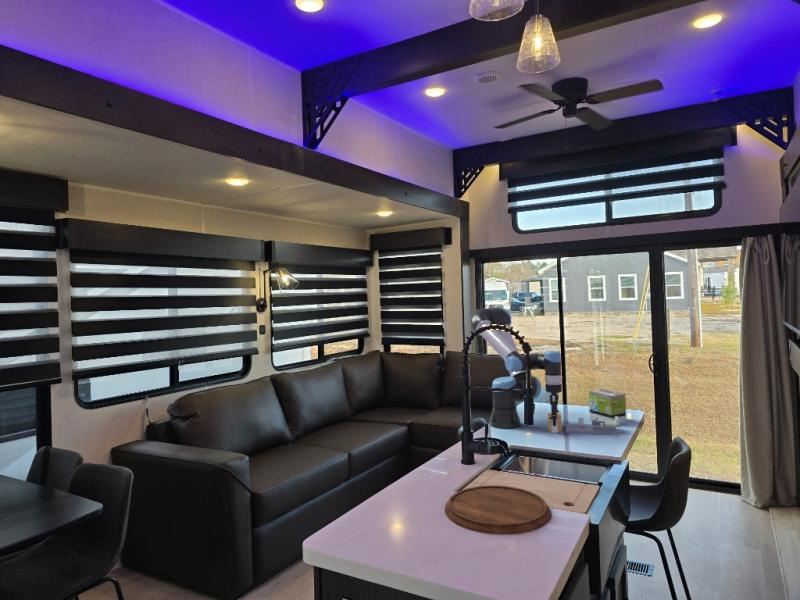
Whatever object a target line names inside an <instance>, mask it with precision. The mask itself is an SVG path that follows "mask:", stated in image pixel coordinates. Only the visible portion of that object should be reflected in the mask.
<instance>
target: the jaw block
mask: <svg viewBox="0 0 800 600" xmlns="http://www.w3.org/2000/svg"><path fill="white" fill-rule="evenodd" d="M553 416H555V415H553ZM550 417H551V413H547V431H548V432H552V424H551V419H550ZM557 422H558V432H560V431H561V432H562V430H561V429H562V413H558V414H557Z"/></svg>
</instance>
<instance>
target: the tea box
mask: <svg viewBox="0 0 800 600" xmlns="http://www.w3.org/2000/svg"><path fill="white" fill-rule="evenodd" d="M626 403H627V402H626V393H623V392H616V391H611V390H608V389H604V388H603V389H596V390H590V391H588V404H589V407H588V408H589V420H591V421H604V420H615V416H618V418H619V421H620V425H622V424H625V423H627V408H626V407H627V406H626ZM621 423H622V424H621Z"/></svg>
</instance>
